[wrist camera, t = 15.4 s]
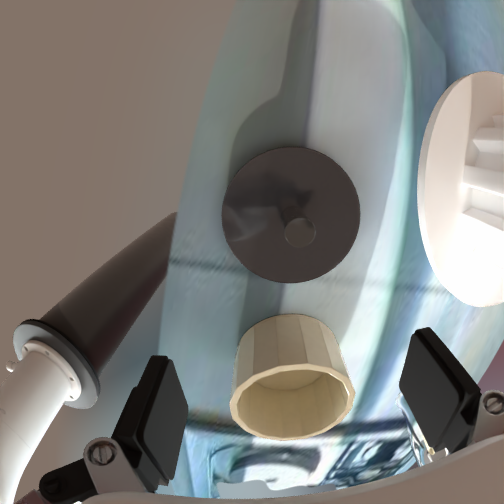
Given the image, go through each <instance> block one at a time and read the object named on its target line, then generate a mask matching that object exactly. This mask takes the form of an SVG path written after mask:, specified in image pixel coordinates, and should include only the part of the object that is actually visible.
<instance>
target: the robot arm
mask: <svg viewBox="0 0 504 504" xmlns="http://www.w3.org/2000/svg"><path fill="white" fill-rule="evenodd" d="M6 368H7V370H8V371H11V372H12V373H11V374H10V375H9V376H8V377H7V378H6V380H5V381H4V382H3V383H2V384H1V386H0V504H13V501H14V496H15V493H16V489H17V486H18V483H19V480H20V478H21V475H22V473H23V471H24V469H25V467H26V465H27V463H28V461H29V459H30V458H31V456H32V454H33V452H34V451H35V449H36V447H37V445H38V444H39V442H40V440H41V439H42V437H43V435H44V434H45V432H46V430H47V429H48V427H49V425H50V423H51V422H52V420H53V418H54V417H55V415H56V414H57V412H58V411H59V409H60V408H61V406H62V405H63V403H64V401H74V400H76V399H77V398H78V397H79V395H80V394H81V384H80V381H79V378H78V376H77V374H76V373H75V371H74V370H73V368H72V367H71V366H70V364H69V363H68V362H67V361H66V360H65V359H64V358H63V357H62V356H61V355H60V354H59V353H58V352H57V351H55V350H54V349H53V348H51V347H50V346H48V345H47V344H45V343H43V342H40V341H37V340H29V341H27V342H26V343H25V344H24V345H23V347H22V360H21V361H20V362H17V363H15V362H12V361H8V362H7V363H6ZM399 387H400V390H401V392H402V394H403V396H404V398H405V400H406V402H407V404H408V406H409V408H410V410H411V412H412V414H413V416H414V418H415V420H416V422H417V424H418V426H419V428H420V430H421V432H422V434H423V436H424V438H425V440H426V442H427V444H428V446H429V447H431V448H433V450H434V452H435V453H436V452H438V451H441V450H443V449H445V448H447V450H448V454H447V456H446V457H443V458H441V459H438V460H436V461H433V462H431V463H428V464H426V465H423V466H421V467H418V468H415V469H412V470H410V471H407V472H404V473H401V474H397V475H394V476H391V477H388V478H384V479H381V480H377V481H373V482H370V483H366V484H362V485H357V486H353V487H348V488H344V489H339V490H333V491H328V492H322V493H315V494H308V495H300V496H291V497H279V498H264V499H215V498H196V497H184V496H174V495H164V494H157V493H156V490H157V488H158V485H164V486H168V483H169V480H173V478H174V475H175V470H176V466H177V461H178V456H179V452H180V447H181V443H182V438H183V434H184V429H185V425H186V420H187V416H188V404H187V401H186V399H185V396H184V393H183V390H182V387H181V385H180V382H179V379H178V376H177V373H176V370H175V367H174V364H173V361H172V360H171V359H168V357H167V356H154V355H153V356H151V358H150V360H149V362H148V364H147V366H146V368H145V370H144V373H143V375H142V377H141V380H140V381H139V384H138V386H137V387H134V388H133V389H132V391H131V393H130V396H129V398H128V400H127V402H126V404H125V407H124V409H123V411H122V413H121V416H120V418H119V420H118V423H117V425H116V427H115V429H114V432H113V434H112V436H111V438H108V437H100V438H96V439H94V440H92V441H90V442H89V443H88V444H87V445H86V447H85V449H84V453H83V456H84V458H82V459H80V460H78V461H76V462H73V463H71V464H68V465H66V466H64V467H61V468H58V469H56V470H53V471H51V472H48V473H47V474H45V475H44V476H43V477H42V478H41V480H40V483H39V490H38V491H36V490H35V489H33V490H32V491H31V492H29V493H28V494H27V495H25V496H24V497H23V498H21V499H20V500H19V501H17V502H16V503H14V504H504V393H502V392H501V391H497V390H489V391H487V392H485V393H484V394H483V395H482V394H481V393H480V390H481V389H480V388H479V387H478V385H477V384H476V383H475V381H474V380H473V379H472V378H471V376H470V375H469V374H468V372H467V371H466V370H465V369H464V367H463V366H462V365H461V364H460V362H459V361H458V360H457V359H456V358H455V356H454V355H453V354H452V353H451V351H450V350H449V349H448V348H447V347H446V345H445V344H444V343H443V342H442V341H441V340H440V338H439V337H438V336H437V335H436V334H435V333H434V331H433V330H432V329H431V328H430V327H426V328H422V329H418V330H416V331H415V333H414V334H412V336H411V340H410V344H409V348H408V352H407V356H406V360H405V364H404V367H403V371H402V374H401V378H400V381H399Z"/></svg>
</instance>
